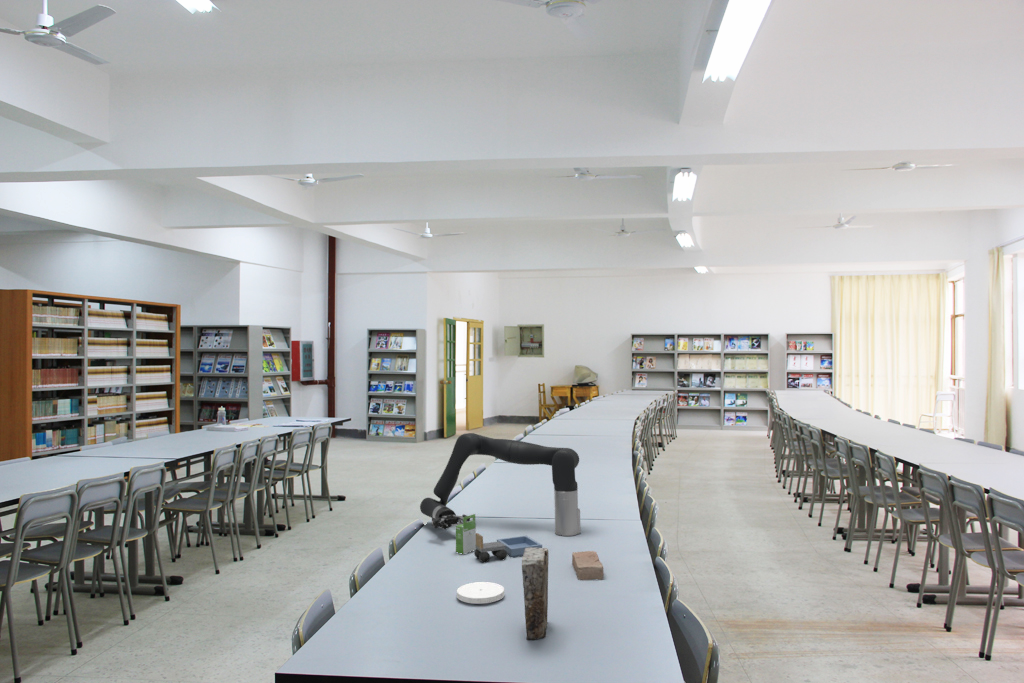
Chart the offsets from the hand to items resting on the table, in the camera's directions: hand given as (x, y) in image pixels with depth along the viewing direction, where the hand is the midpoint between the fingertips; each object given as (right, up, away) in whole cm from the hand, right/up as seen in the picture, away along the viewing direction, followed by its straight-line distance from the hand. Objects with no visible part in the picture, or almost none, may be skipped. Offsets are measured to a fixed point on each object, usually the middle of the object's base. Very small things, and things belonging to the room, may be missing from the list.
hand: (456, 525), depth 261 cm
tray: (+24, -6, -10) cm, 26 cm away
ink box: (+4, -7, -10) cm, 13 cm away
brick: (+46, -6, -35) cm, 58 cm away
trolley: (+14, -6, -19) cm, 25 cm away
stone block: (+27, -6, -82) cm, 87 cm away
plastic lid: (+12, -7, -57) cm, 59 cm away
